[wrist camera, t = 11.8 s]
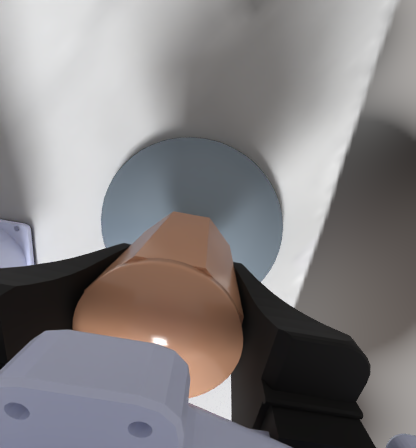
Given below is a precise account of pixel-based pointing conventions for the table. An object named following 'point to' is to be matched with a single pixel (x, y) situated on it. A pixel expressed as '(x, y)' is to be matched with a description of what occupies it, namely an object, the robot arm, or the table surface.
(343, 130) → the table surface
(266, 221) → the lid
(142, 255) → the tan piece
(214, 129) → the table surface
